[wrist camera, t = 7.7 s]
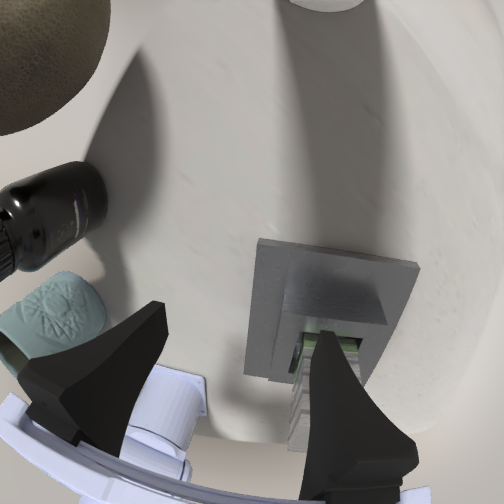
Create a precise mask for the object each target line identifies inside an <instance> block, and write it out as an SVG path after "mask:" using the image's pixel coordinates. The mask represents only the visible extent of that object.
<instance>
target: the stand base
mask: <svg viewBox="0 0 504 504" xmlns="http://www.w3.org/2000/svg"><path fill="white" fill-rule="evenodd" d="M420 269H421V268H420V267H419V265H418V264H417V262H411V261H405V260H399V259H393V258H386V257H380V256H374V255H368V254H361V253H355V252H349V251H342V250H336V249H329V248H323V247H316V246H310V245H303V244H296V243H289V242H283V241H276V240H269V239H262V238H259V240H258V243H257V251H256V261H255V271H254V280H253V290H252V299H251V309H250V319H249V328H248V337H247V347H246V356H245V366H244V374H245V375H251V376H257V377H263V378H269V379H268V381H274V382H281V383H288V384H294V381H293V379H294V370H295V366H296V362H297V359H298V355H299V352H300V349H301V345H302V341H303V338H304V334H313V335H319V333H320V330H326V331H334V332H335V334H336V336H337V337H339V338H348V339H355V343H357V350H358V354H357V355H358V361H359V363H360V365H359V369H360V377H362V381H361V384H362V386H363V387H364V386H365V384H366V382H367V381H368V379H369V377H370V375H371V374H372V372H373V370H374V368H375V367H376V365H377V363H378V361H379V359H380V357H381V355H382V354H383V352H384V350H385V348H386V346H387V344H388V342H389V340H390V338H391V336H392V334H393V332H394V330H395V328H396V326H397V323H398V321H399V319H400V317H401V315H402V313H403V310H404V308H405V306H406V304H407V301H408V299H409V296H410V294H411V292H412V289H413V287H414V284H415V282H416V279H417V277H418V274H419V271H420Z"/></svg>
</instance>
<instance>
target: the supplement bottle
mask: <svg viewBox="0 0 504 504" xmlns="http://www.w3.org/2000/svg"><path fill="white" fill-rule="evenodd" d="M106 209H107V194H106V189H105V186H104V183H103V181H102V179H101V177H100V176H99V174H98V173H97V172H96V170H95V169H94V168H92V167H91V166H90V165H88V164H86V163H84V162H79V161H74V162H69V163H66V164H63V165H60V166H57V167H54V168H51V169H48V170H45V171H42V172H40V173H37V174H34V175H32V176H29V177H26V178H24V179H21V180H19V181H16V182H14V183H11V184H9V185H7V186H5V187H4V188H3V189H2V190H1V191H0V282H1V281H2V280H4V279H5V278H6V277H8V276H9V275H12V274H13V273H14V272H15V271H16V270H17V269H18V270H20V271H24V272H34V271H37V270H39V269H40V268H42V267H43V266H44V265H46V264H47V263H49V262H50V261H51V260H52V259H54V258H55V257H57V256H58V255H59V254H60V253H62V252H63V251H65V250H66V249H68V248H69V247H70V246H72V245H73V244H75V243H76V242H77V241H79V240H80V239H82V238H83V237H85V236H86V235H88V234H89V233H90V232H92V231H93V230H95V229H96V228H97V227H98V226H99V225H100V224H101V222H102V221H103V219H104V217H105V214H106Z"/></svg>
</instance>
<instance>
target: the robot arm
mask: <svg viewBox="0 0 504 504" xmlns="http://www.w3.org/2000/svg"><path fill="white" fill-rule="evenodd" d="M168 335H169V333H168V326H167V319H166V311H165V303H162V302H158V301H152V302H150V303H149V304H147V305H146V306H144V307H143V308H142V309H140V310H139V311H137V312H136V313H134V314H133V315H132V316H130V317H129V318H127V319H126V320H124V321H123V322H121V323H120V324H118V325H116V326H115V327H113V328H112V329H110V330H108V331H107V332H105V333H103V334H102V335H100V336H98V337H96V338H94V339H92V340H90V341H88V342H86V343H83V344H81V345H78V346H76V347H73V348H71V349H68V350H65V351H62V352H58V353H55V354H51V355H47V356H42V357H37V358H31V359H30V360H29V361H28V362H27V363H26V365H25V366H24V367H23V368H22V370H21V371H20V372H19V373H18V375H17V380H18V382H19V384H20V386H21V387H22V388H23V390H24V391H25V393H26V394H27V395H28V397H29V398H30V399H31V401H32V403H31V405H30V406H29V405H28V404H27V403H26V402H25V401H24V400H22V399H21V398H19V397H18V396H17V395H15V394H14V393H13V392H11V393H10V394H9V395H8V397H7V398H6V399H5V401H4V402H3V404H2V405H1V406H0V437H1V438H2V439H3V440H4V441H5V442H6V443H7V444H9V445H10V446H11V447H12V448H13V449H14V450H16V451H17V452H18V453H19V454H21V455H22V456H23V457H25V458H26V459H27V460H28V461H30V462H31V463H32V464H34V465H35V466H36V467H38V468H39V469H41V470H42V471H43V472H45V473H46V474H47V475H49V476H50V477H52V478H53V479H55V480H57V481H58V482H60V483H61V484H63V485H64V486H66V487H68V488H69V489H71V490H73V491H74V492H76V493H78V494H79V495H81V499H80V501H79V503H78V504H195V503H191V502H188V501H184V500H182V498H184V499H187V500H191V501H195V502H199V503H203V504H431V494H430V487H429V486H424V487H419V488H414V489H408V490H404V491H401V492H400V487H399V486H402V484H403V480H402V477H403V476H405V475H406V474H408V473H409V472H411V471H412V470H413V469H414V468H416V467H417V465H418V464H419V457H418V451H417V447H416V443H415V442H414V441H413V440H412V439H411V438H409V437H408V436H407V435H406V434H404V433H403V432H402V431H401V430H400V429H398V428H397V427H396V426H395V425H394V424H393V423H392V422H391V421H390V420H389V419H388V418H387V417H386V416H385V415H384V413H383V412H382V411H381V410H380V409H379V408H378V407H377V406H376V404H375V403H374V402H373V400H372V399H371V398H370V396H369V395H368V394H367V392H366V391H365V389H364V388H363V386H362V385H361V383H360V382H359V380H358V378H357V377H356V375H355V373H354V371H353V370H352V368H351V366H350V364H349V362H348V360H347V358H346V356H345V354H344V352H343V350H342V348H341V346H340V343H339V341H338V339H337V336H336V334H335V332H334V331H326V330H320V333H319V336H318V339H317V342H316V345H315V349H314V352H313V355H312V358H311V362H310V374H309V396H310V431H309V441H308V449H307V457H306V464H305V469H304V475H303V481H302V486H301V491H300V495H299V500H286V499H274V498H265V497H257V496H250V495H243V494H237V493H232V492H226V491H221V490H216V489H212V488H207V487H203V486H199V485H195V484H191V483H190V481H191V477H192V467H191V464H190V461H189V460H186V459H185V457H186V454H187V453H186V452H185V451H186V450H187V448H188V446H189V444H190V441H191V438H192V435H193V432H194V429H195V426H196V423H197V420H198V417H199V416H203V417H205V416H206V415H207V408H206V394H205V379H204V378H203V377H202V376H198V375H194V374H190V373H186V372H182V371H178V370H174V369H170V368H167V367H163V366H160V365H156V364H155V363H156V362H157V360H158V358H159V356H160V354H161V353H162V350H163V348H164V345H165V343H166V340H167V337H168ZM145 381H147V382H146V384H145V386H144V388H143V390H142V392H141V394H140V396H139V393H140V391H141V389H142V387H143V385H144V383H145ZM138 396H139V397H138ZM137 398H138V399H137Z"/></svg>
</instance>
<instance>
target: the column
mask: <svg viewBox="0 0 504 504" xmlns="http://www.w3.org/2000/svg"><path fill="white" fill-rule="evenodd" d="M318 336H319V335H313V334H304V338H303V341H302V345H301V349H300V352H299V355H298V359H297V362H296V366H295V370H294V379H293V381H294V387H293V400H292V404H291V407H292V412H291V419H290V432H289V437H288V441H289V442H288V451H295V452H307V449H308V441H309V431H310V396H309V374H310V362H311V358H312V355H313V352H314V349H315V345H316V342H317V339H318ZM337 339H338V341H339V343H340V346H341V348H342V350H343V352H344V354H345V356H346V358H347V360H348V362H349V364H350V366H351V368H352V370H353V371H354V373H355V375H356V377H357V378H358V380H359V382H360V383H361V381H362V377H360V369H359V365H360V363H359V361H358V355H357V354H358V350H357V343H355V339H348V338H339V337H337ZM361 385H362V384H361Z"/></svg>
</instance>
